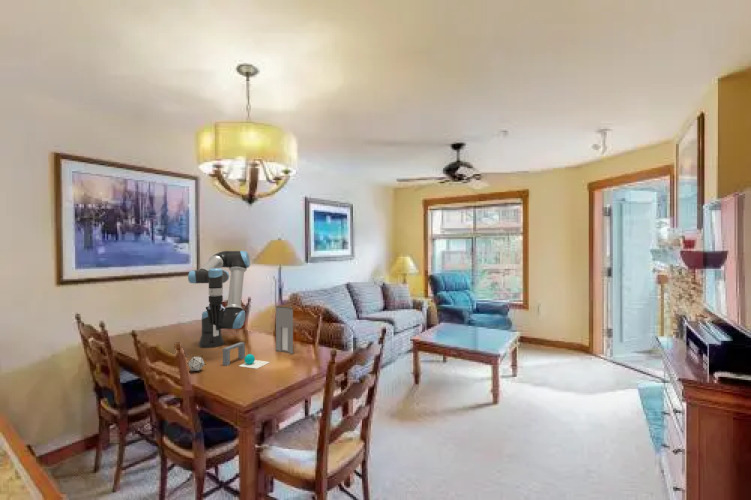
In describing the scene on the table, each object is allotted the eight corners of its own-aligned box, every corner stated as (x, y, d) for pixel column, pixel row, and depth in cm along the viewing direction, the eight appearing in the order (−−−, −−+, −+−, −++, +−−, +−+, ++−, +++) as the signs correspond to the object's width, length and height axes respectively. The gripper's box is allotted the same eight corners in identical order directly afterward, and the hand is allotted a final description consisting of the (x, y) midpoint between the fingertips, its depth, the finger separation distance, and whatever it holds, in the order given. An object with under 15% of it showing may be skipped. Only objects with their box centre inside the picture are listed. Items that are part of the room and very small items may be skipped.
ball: (251, 357, 209) (248, 367, 210) (257, 355, 214) (255, 364, 215) (243, 353, 211) (241, 363, 212) (250, 351, 216) (248, 360, 217)
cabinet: (292, 354, 233) (292, 308, 232) (276, 355, 230) (276, 308, 230) (290, 345, 253) (290, 303, 252) (275, 346, 250) (275, 303, 250)
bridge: (222, 365, 211) (222, 348, 211) (240, 357, 225) (240, 342, 225) (227, 365, 210) (227, 348, 210) (244, 358, 224) (244, 342, 224)
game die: (196, 379, 199) (190, 368, 193) (187, 371, 204) (180, 359, 197) (211, 367, 205) (205, 356, 199) (202, 359, 209) (196, 348, 203)
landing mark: (238, 366, 209) (238, 365, 209) (252, 360, 221) (252, 359, 221) (256, 368, 205) (256, 368, 205) (270, 362, 216) (270, 361, 216)
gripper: (201, 295, 220) (202, 336, 221) (220, 296, 216) (220, 338, 216) (211, 293, 227) (211, 333, 228) (229, 294, 223) (229, 335, 223)
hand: (215, 335), depth 222 cm, fingers closed
